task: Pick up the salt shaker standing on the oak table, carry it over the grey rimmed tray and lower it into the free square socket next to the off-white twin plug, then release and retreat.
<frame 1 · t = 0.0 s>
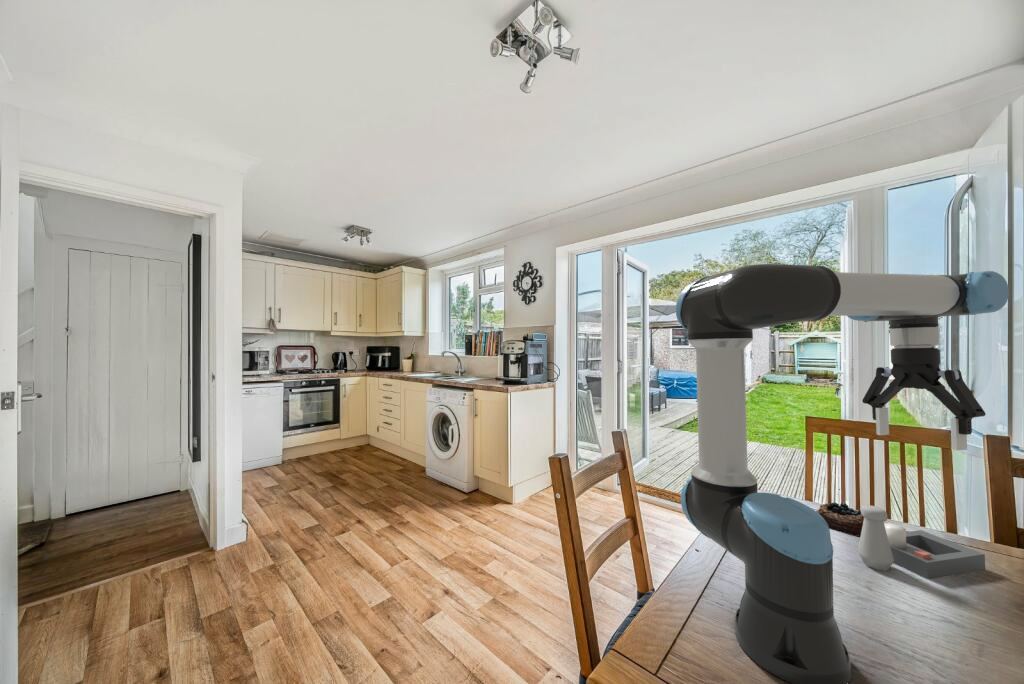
hand: (918, 441, 82), 28 cm above the table, fingers open, 13 cm apart
salt shaker: (875, 566, 83), on the table
grey rimmed tray: (924, 560, 85), on the table
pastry: (844, 526, 102), on the table
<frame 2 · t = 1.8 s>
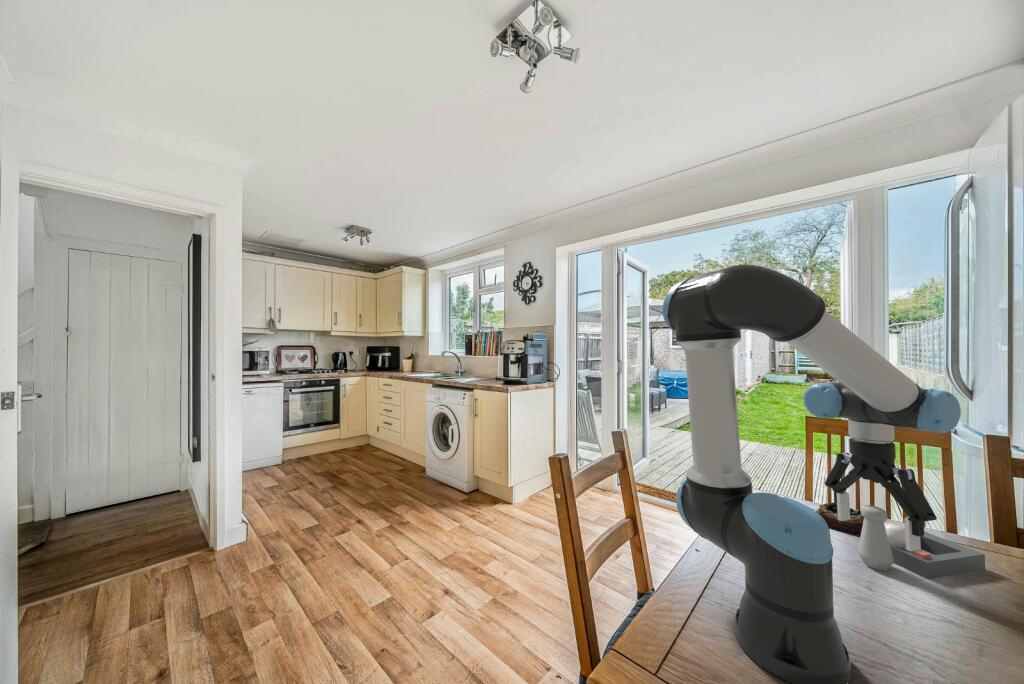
hand: (875, 533, 83), 7 cm above the table, fingers open, 13 cm apart
nothing on the table moved.
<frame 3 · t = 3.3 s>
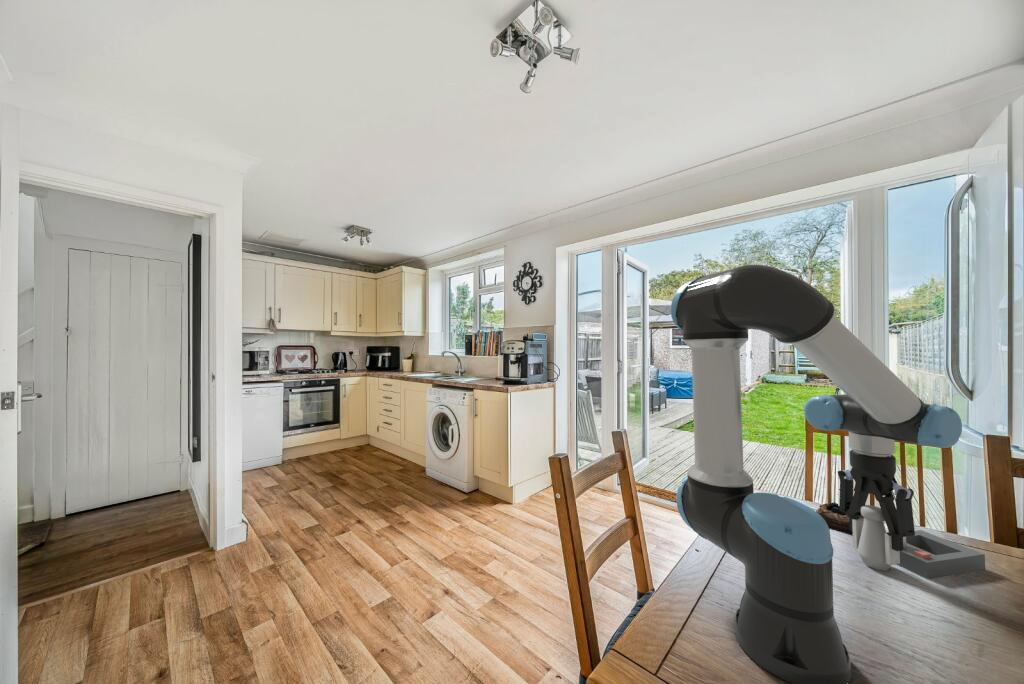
hand: (875, 554, 83), 2 cm above the table, fingers closed on salt shaker, 6 cm apart
salt shaker: (875, 566, 83), on the table, touching gripper
everything else where it was.
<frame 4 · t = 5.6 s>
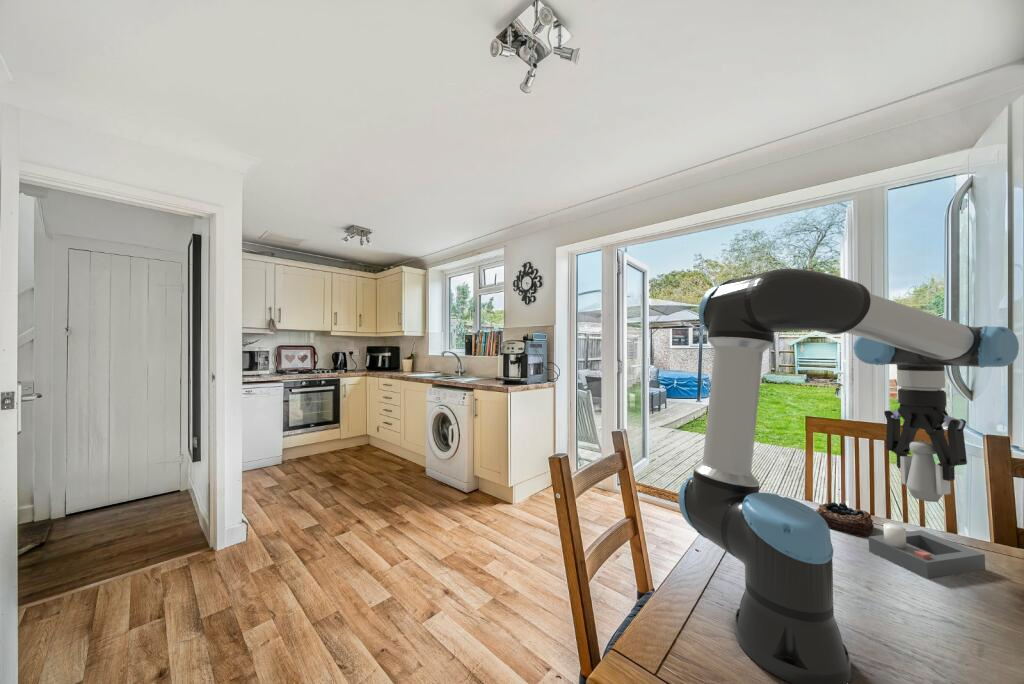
hand: (925, 488, 85), 16 cm above the table, fingers closed on salt shaker, 6 cm apart
salt shaker: (925, 499, 85), point 14 cm above the table, touching gripper
everything else where it was.
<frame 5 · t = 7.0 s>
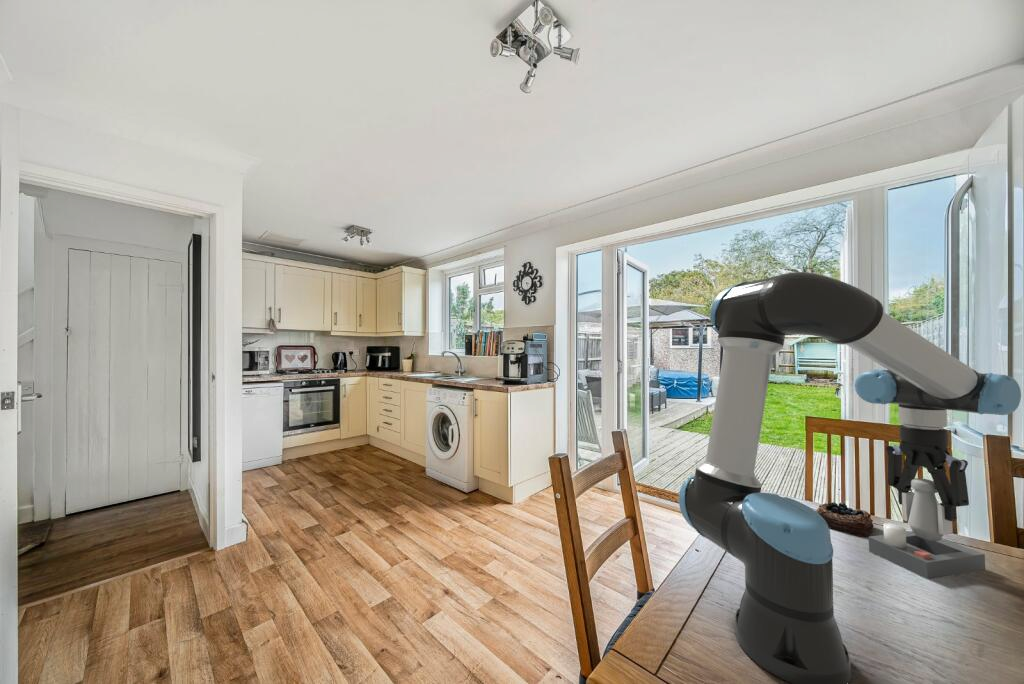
hand: (926, 526, 85), 8 cm above the table, fingers closed on salt shaker, 6 cm apart
salt shaker: (927, 537, 85), point 5 cm above the table, touching gripper
everything else where it was.
when the fingers open (4 cm above the table, at t = 8.0 s): salt shaker drops 2 cm, resting in grey rimmed tray.
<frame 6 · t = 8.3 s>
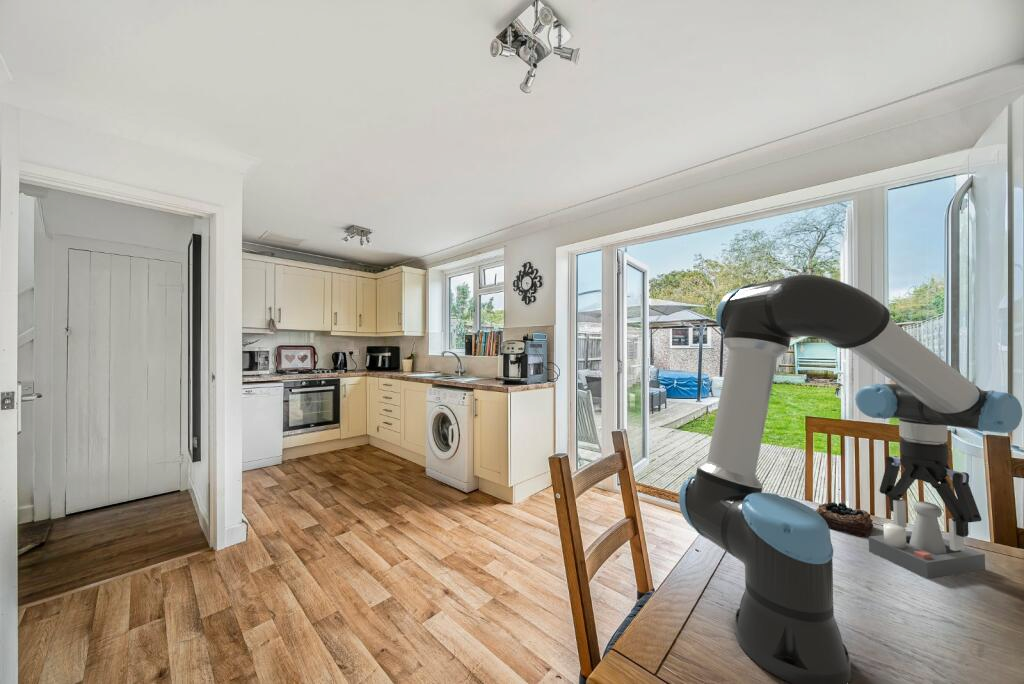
hand: (927, 537, 85), 5 cm above the table, fingers open, 9 cm apart
salt shaker: (927, 560, 85), resting in grey rimmed tray
everything else where it was.
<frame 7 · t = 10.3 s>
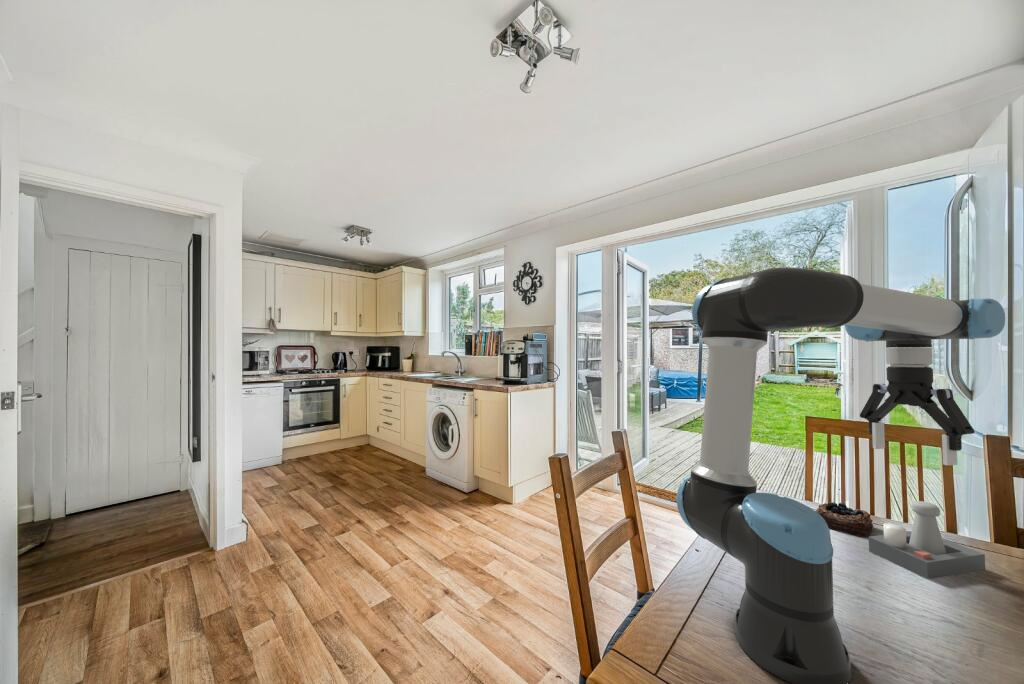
hand: (911, 456, 87), 23 cm above the table, fingers open, 13 cm apart
nothing on the table moved.
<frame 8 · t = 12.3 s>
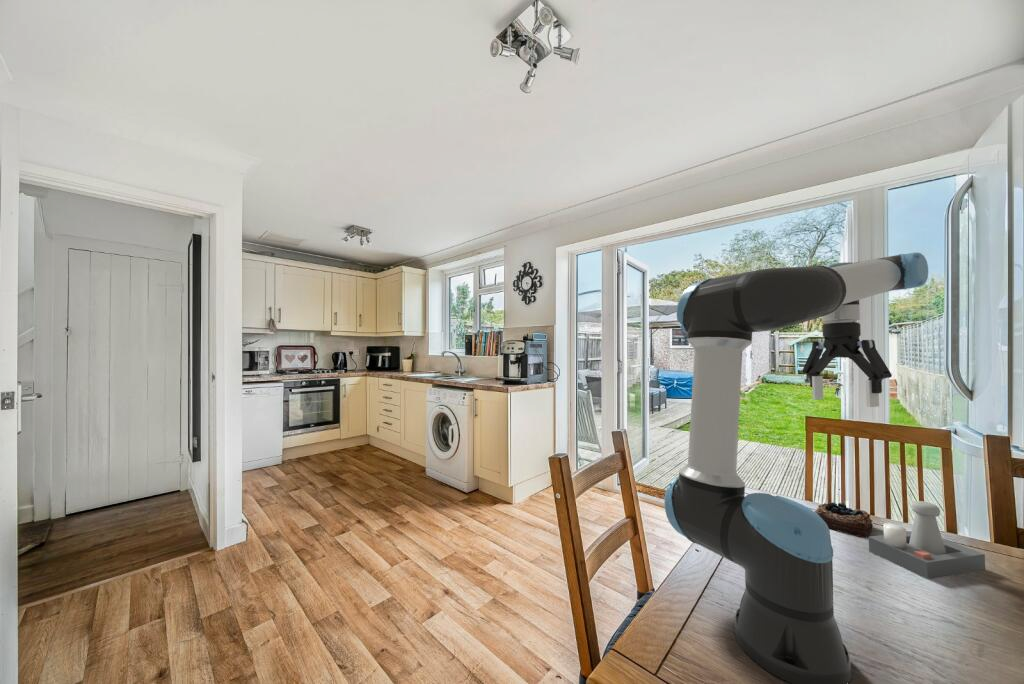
hand: (843, 402, 97), 35 cm above the table, fingers open, 13 cm apart
nothing on the table moved.
at the end: salt shaker 0.0 cm from the target spot, resting in grey rimmed tray; salt shaker tilted 0°; the gripper is holding nothing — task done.
